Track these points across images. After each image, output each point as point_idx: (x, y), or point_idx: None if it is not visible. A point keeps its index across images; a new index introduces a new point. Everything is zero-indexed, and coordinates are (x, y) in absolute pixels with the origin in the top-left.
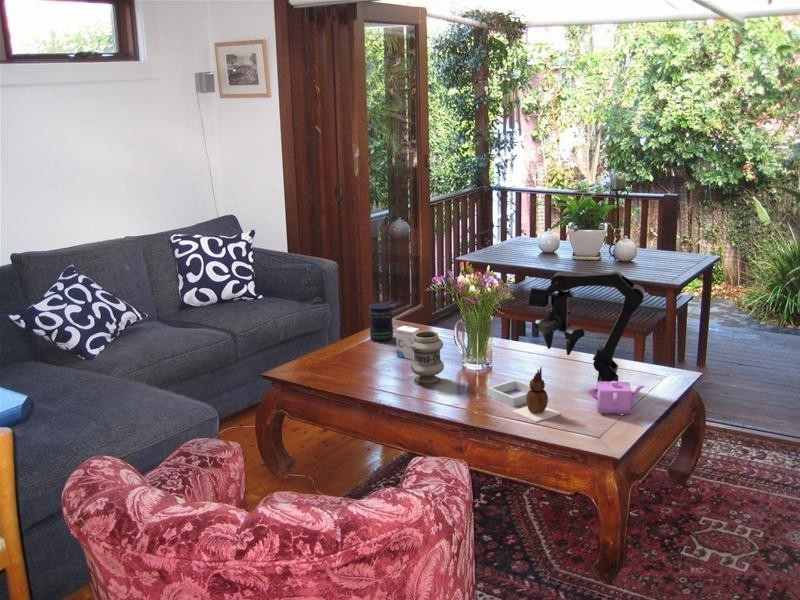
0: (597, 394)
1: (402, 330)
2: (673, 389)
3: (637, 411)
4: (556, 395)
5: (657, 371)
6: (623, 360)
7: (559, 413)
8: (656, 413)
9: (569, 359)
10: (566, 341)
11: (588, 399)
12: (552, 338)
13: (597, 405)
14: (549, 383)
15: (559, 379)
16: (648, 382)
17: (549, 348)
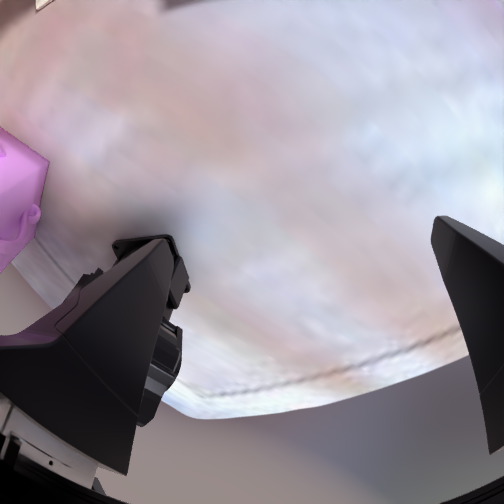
0: (22, 173)
1: None
2: None
3: None
4: (195, 64)
5: (234, 403)
6: (334, 401)
7: (36, 5)
8: None
9: (442, 335)
10: (51, 340)
11: (104, 162)
12: (466, 338)
13: (33, 150)
14: (349, 136)
15: (359, 205)
16: None
17: (433, 228)
